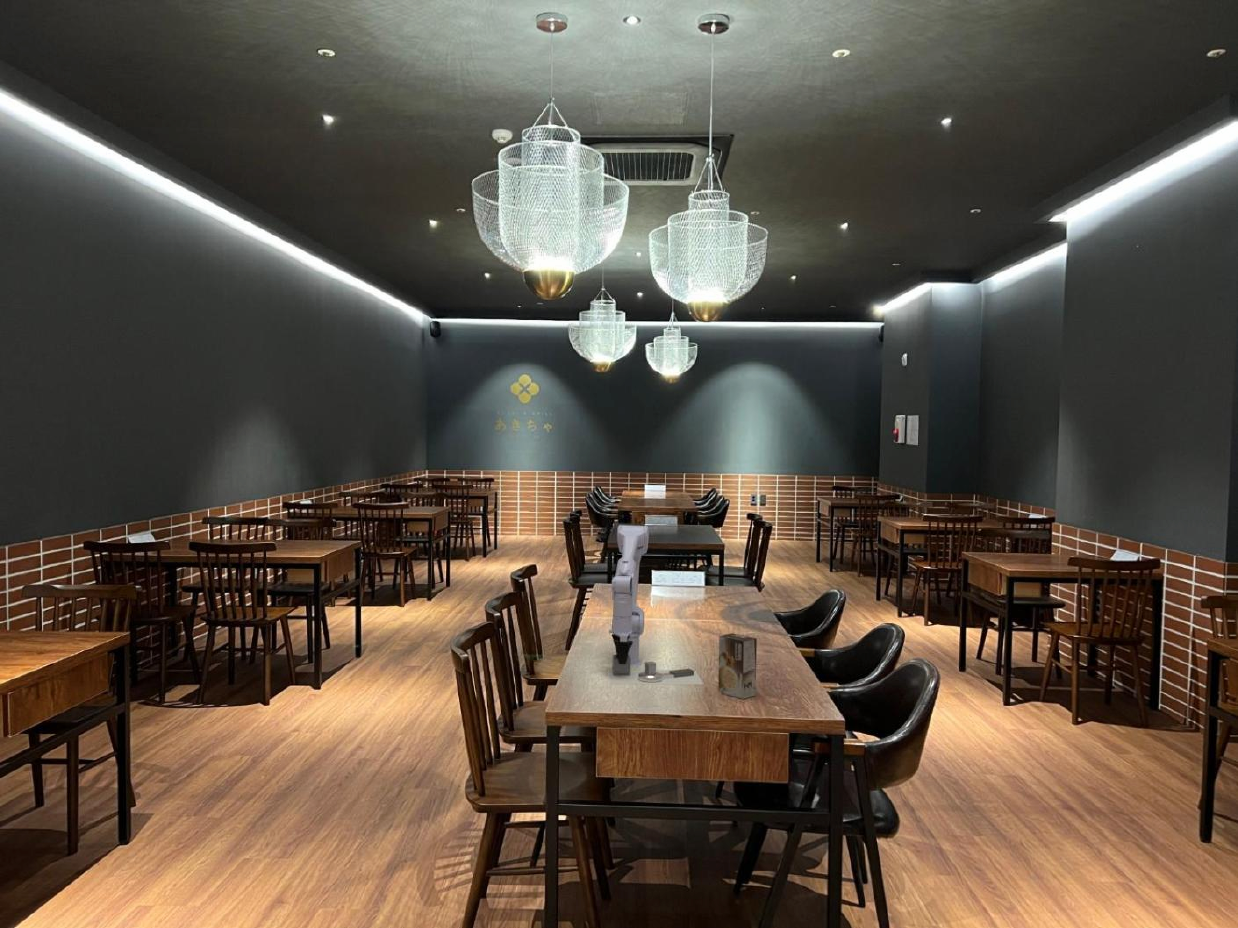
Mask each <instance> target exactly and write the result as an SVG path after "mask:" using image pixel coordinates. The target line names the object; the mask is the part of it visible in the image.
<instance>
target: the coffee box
mask: <svg viewBox="0 0 1238 928" xmlns="http://www.w3.org/2000/svg"><path fill="white" fill-rule="evenodd" d="M757 640H758V639H757V637H751V636H747V635H744V634H743V635H742V634H737V633H726V634H723V635H719V637H718V684H717V685H718V688H717V689H718V692H720V693H721V694H722V695H727V696H731V697H734V698H737V699H738V698H739V699H741V700H745V699H748V698H751V697H755V696H756V695H757V650H758V649H757V646H758V645H757V644H758V642H757Z"/></svg>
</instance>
